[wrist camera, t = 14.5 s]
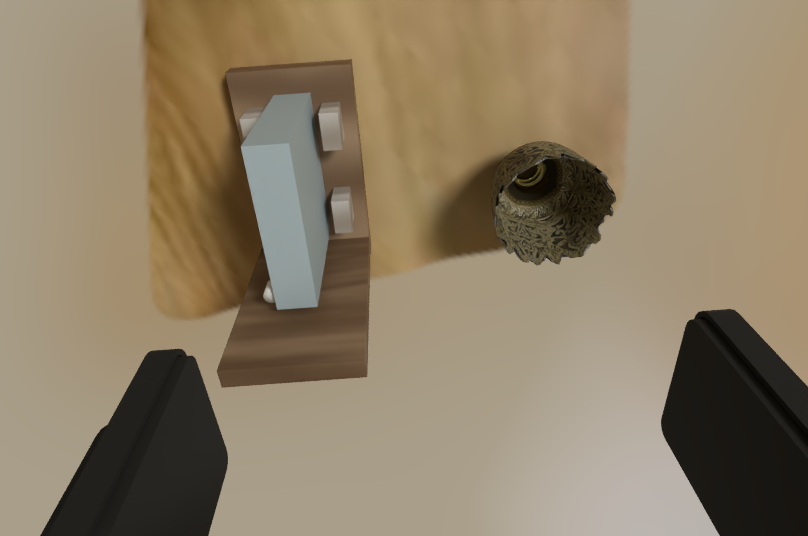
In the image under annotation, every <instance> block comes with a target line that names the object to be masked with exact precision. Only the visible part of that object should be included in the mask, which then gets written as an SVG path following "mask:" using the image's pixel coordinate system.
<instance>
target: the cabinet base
mask: <svg viewBox="0 0 808 536" xmlns="http://www.w3.org/2000/svg"><path fill="white" fill-rule="evenodd" d="M225 75H226V79H227V84H228V88H229V93H230V97H231V102H232V106H233V111H234V115H235V120H236V124H237V129H238V133H239V137H240V142H241V145H242V144H243V142H244V138H245V137H247V136H248V134H249V133H250V131H251V130H252V128H253V127H254V125H255V124H256V122H257V120H258V119H259V117H260V116H261V114H262V113H263V111H264V109H265V108H266V106H267V105H268V103H269V102H270V100H271V99H272V97H273V95H284V94H298V93H310V94H311V100H312V107H313V114H314V121H315V128H316V134H317V141H318V148H319V155H320V162H321V168H322V175H323V182H324V189H325V196H326V203H327V209H328V216H329V223H330V234H329V240H328V246H327V252H326V259H325V265H324V271H323V277H322V283H321V289H320V295H319V301H318V307H309V308H295V309H281V310H277V307H276V302H274V303H269V302H267V301H265V299H264V297H263V294H264V291H265V288H266V285H267V282H268V281H269V280H270V276H269V271H268V267H267V262H266V258H265V253H264V249H263V247H262V250H261V252H260V255H259V258H258V261H257V263H256V266H255V269H254V271H253V274H252V277H251V280H250V282H249V285H248V288H247V290H246V293H245V296H244V299H243V301H242V304H241V307H240V309H239V312H238V315H237V318H236V320H235V323H234V326H233V329H232V331H231V334H230V337H229V339H228V342H227V345H226V348H225V350H224V353H223V356H222V358H221V361H220V364H219V366H218V369H217V373H218V376H219V379H220V383H221V386H222V387H235V386H249V385H263V384H275V383H290V382H303V381H318V380H332V379H345V378H360V377H367V363H368V325H369V289H370V254H371V239H370V229H369V220H368V210H367V201H366V191H365V182H364V172H363V163H362V153H361V144H360V134H359V125H358V116H357V106H356V97H355V87H354V78H353V68H352V60H338V61H324V62H310V63H296V64H282V65H268V66H254V67H240V68H230V69H229V70H228V71H227V72H226V73H225Z"/></svg>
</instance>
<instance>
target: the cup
mask: <svg viewBox="0 0 808 536" xmlns="http://www.w3.org/2000/svg"><path fill="white" fill-rule="evenodd" d="M535 165H537V170H536V172H535V174H534V175H533V176H532V177H530V178H527V179H522V178H520V177H518V176H517V175H519V174H521V173H523V172H524V171H526V170H527V169H529V168H530V167H532V166H535ZM607 180H608V177H607V176H606V175H605V174H604V173H603V172H602V171H600V170H599V169H597V168H596V166H595V165H594V164H592V163H591V162H589V161H588V160H586V159H585V158H583V157H582V156H580V155H579V154H577V153H575V152H574V151H572V150H570V149H569V148H567V147H564V146H562V145H560V144H556V143H552V142H543V141H541V142H532V143H529V144H525V145H523V146H521V147H519V148H517V149H515V150H514V151H512V152H511V153H510V154H508V155H507V156H506V157H505V158H504V159H503V161H502V162H501V163H500V165H499V166H498V168H497V170H496V172H495V174H494V178H493V181H492V187H491V201H492V210H493V216H494V223H495V231H496V235H497V237H498V239H499V240H500V241H502V242H503V243H504V245H505V248H506V250H507V252H508V253H509V254H511V253H513V252H515V253H516V255H517V256H518V258H519V259H520V260H522V261H523V262H529V261H531V262H534V263H535V264H536V265H540V264H541V263H542V262H543V261H545V258H548V259H549V260H550V261H551V262H554V263H556V264H559V263H560V261H561V258H562V257H569V258H575V257H582V256H583V255H584V254H585V253H586V251H587V249H588V248H589V247H590V245H591V244H592V243H594V244H596V243H597V242H599V241H600V239H601V234H600V233H599V229H598V228H599V226H600V224H602V223H603V222H604V218H605V215H610V216H612V215H613V209H612V207H611V205H612V204H613V203H614V202H616V196H615V194H614V192H613V190H612V189H611V187H610V186H609V185H608V183H607Z"/></svg>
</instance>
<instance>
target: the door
mask: <svg viewBox="0 0 808 536" xmlns="http://www.w3.org/2000/svg"><path fill="white" fill-rule="evenodd" d="M241 151H242V155H243V159H244V164H245V168H246V173H247V177H248V182H249V186H250V191H251V195H252V200H253V204H254V209H255V213H256V218H257V222H258V226H259V231H260V235H261V240H262V244H263V249H264V253H265V258H266V262H267V267H268V271H269V276H270V280H269V281H268V282H267V285H266V288H265V291H264V294H263V297H264V299H265V301H267V302H269V303H274V302H276V307H277V310H281V309H295V308H309V307H318V301H319V295H320V289H321V283H322V277H323V271H324V265H325V259H326V252H327V246H328V240H329V234H330V223H329V216H328V209H327V203H326V196H325V189H324V182H323V175H322V168H321V162H320V155H319V148H318V141H317V134H316V128H315V121H314V114H313V107H312V100H311V94H310V93H298V94H284V95H273V97H272V99H271V100H270V102H269V103H268V105H267V106H266V108H265V109H264V111H263V113H262V114H261V116H260V117H259V119H258V120H257V122H256V124H255V125H254V127H253V128H252V130H251V131H250V133H249V134H248V136H247V137H245V138H244V142H243V144H242V145H241Z"/></svg>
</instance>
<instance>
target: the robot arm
mask: <svg viewBox="0 0 808 536" xmlns="http://www.w3.org/2000/svg"><path fill="white" fill-rule="evenodd" d="M661 427H662V431H663V435H664V437H665V439H666V441H667V443H668V445H669V446H670V448H671V450H672V452H673V454H674V455H675V457H676V459H677V461H678V462H679V464H680V466H681V468H682V470H683V471H684V473H685V475H686V477H687V478H688V480H689V482H690V484H691V486H692V487H693V489H694V491H695V493H696V494H697V496H698V498H699V500H700V502H701V503H702V505H703V507H704V509H705V510H706V512H707V514H708V516H709V517H710V519H711V521H712V523H713V525H714V526H715V528H716V530H717V532H718V533H719V535H720V536H808V387H807V385H806V384H805V383H804V382H803V381H802V380H801V379H800V378H799V377H798V376H797V375H796V374H795V373H794V372H793V371H792V369H790V367H789V366H788V365H787V364H786V363H785V362H784V361H783V360H782V359H781V358H780V357H779V356H778V355H777V354H776V352H775V351H774V350H773V349H772V348H771V347H770V346H769V345H768V344H767V343H766V342H765V341H764V340H763V339H762V338H761V337H760V335H759V334H757V332H756V331H755V330H754V329H753V328H752V327H751V326H750V325H749V324H748V323H747V322H746V321H745V320H744V319H743V317H742V316H741V315H740V314H739V313H737V312H736V311H735V310H731V309H726V310H711V311H701V312H698V313H697V315H696V316H695V318H694V319H693V320H689V321H688V322H687V325H686V327H685V331H684V335H683V339H682V343H681V346H680V350H679V354H678V358H677V362H676V365H675V369H674V373H673V377H672V381H671V384H670V388H669V392H668V396H667V399H666V404H665V407H664V411H663V415H662V419H661ZM227 464H228V455H227V450H226V446H225V444H224V441H223V438H222V435H221V432H220V429H219V426H218V423H217V420H216V417H215V414H214V411H213V408H212V405H211V402H210V400H209V397H208V394H207V391H206V388H205V385H204V382H203V379H202V376H201V374H200V370H199V368H198V364H197V362H196V359H195V358H194V357H193V356H187V355H186V353H185V352H184V351H183V350H182V349H171V350H157V351H150V352H149V353H147V355H146V356H145V358H144V360H143V361H142V363H141V365H140V367H139V369H138V371H137V373H136V374H135V376H134V378H133V380H132V381H131V383H130V385H129V387H128V389H127V391H126V392H125V394H124V396H123V398H122V400H121V401H120V403H119V405H118V407H117V409H116V411H115V412H114V414H113V416H112V418H111V420H110V422H109V423H108V425H107V426H105V427H104V428H102V429H101V430H100V432H99V433H98V434H97V436H96V437H95V439H94V441H93V442H92V445H91V446H90V448H89V450H88V451H87V453H86V455H85V457H84V459H83V460H82V462H81V464H80V466H79V468H78V469H77V471H76V473H75V475H74V476H73V478H72V480H71V482H70V484H69V485H68V487H67V489H66V491H65V492H64V494H63V496H62V498H61V500H60V501H59V503H58V505H57V507H56V509H55V510H54V512H53V514H52V516H51V518H50V519H49V521H48V523H47V525H46V526H45V528H44V530H43V532H42V534H41V535H40V536H208V534H209V531H210V527H211V524H212V520H213V517H214V513H215V509H216V506H217V502H218V499H219V495H220V492H221V488H222V484H223V481H224V478H225V474H226V470H227Z"/></svg>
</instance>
